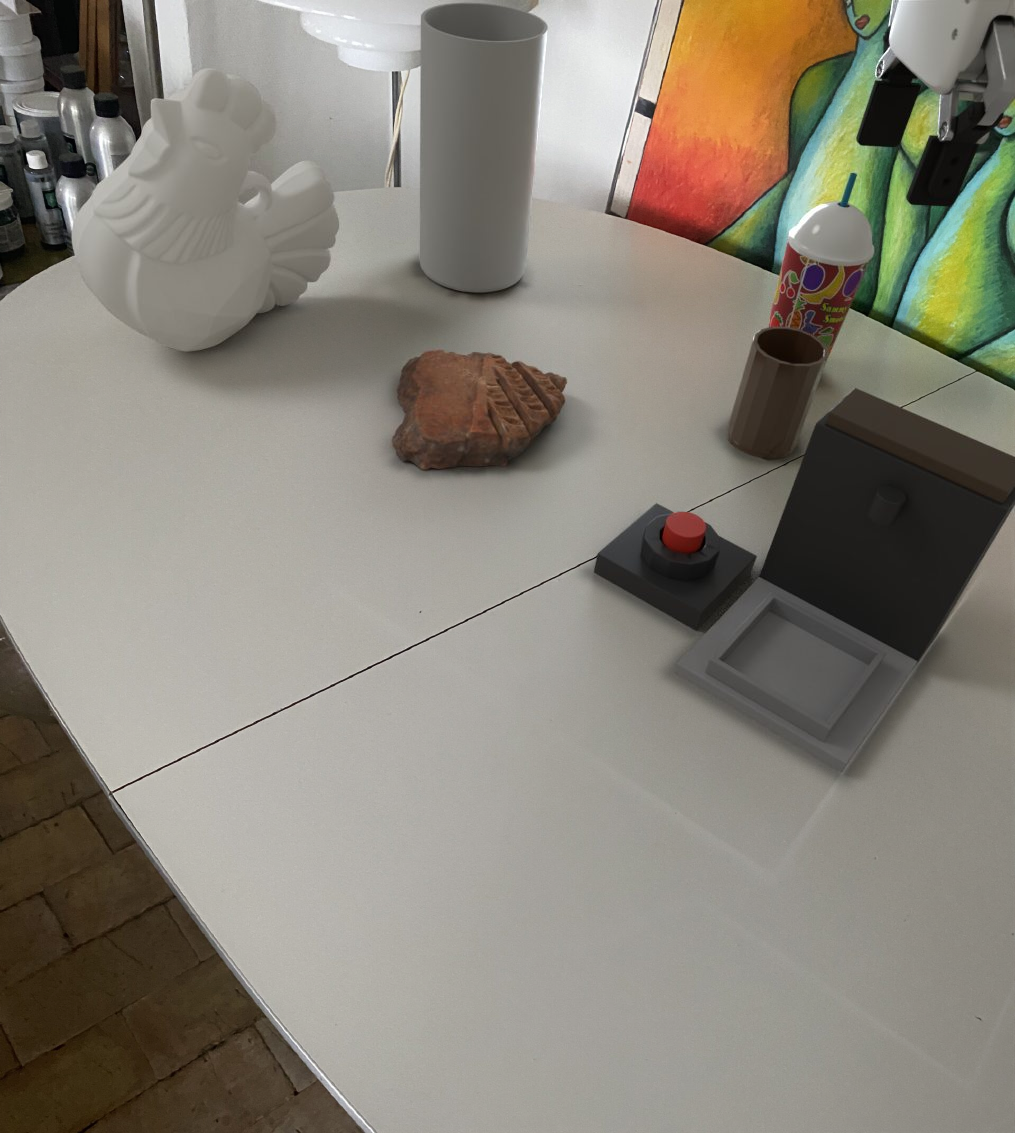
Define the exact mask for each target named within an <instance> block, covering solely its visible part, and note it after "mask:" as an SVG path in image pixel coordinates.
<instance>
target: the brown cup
mask: <svg viewBox="0 0 1015 1133" xmlns="http://www.w3.org/2000/svg"><path fill="white" fill-rule="evenodd" d="M827 358H828V359H829V357H828V348H827V347H826V345H825V344H824V342H823V341H821V340H820V339H819V338H817V337H816V336H814V335H813V334H810V333H808V332H805V331H803V330H800V329H795V328H791V327H774V326H773V327H769V328H767V327H764V328H761V329H760V330H758V331H757V332H755V333H754V334H753V339H752V341H751V344H750V348H749V352H748V355H747V359H746V361H745V366H744V368H743V372H742V375H741V378H740V381H739V386H738V390H737V392H736V397H735V400H734V403H733V407H732V411H731V414H730V417H729V421H728V423H727V428H726V431H725V432H726V438H727V440H728V442H729V443H730V445H732V446H733V447H735V449H738V451H740V452H743V453H744V454H746V455H749V456H752V457H755V458H760V459H763V460H778V459H782V458H785V457H787V456H789V455H790V454H792V453H793V451H794V450H795V448H796V446H797V445H798V441H799V438H800V436H801V433H802V430H803V427H804V424H805V422H806V419H807V416H808V413H809V411H810V408H811V405H812V404H813V403H812V402H813V399H814V397H815V395H816V392H817V388H818V386H819V383H820V380H821V377H822V374H823V372H824V369H825V366H826V364H827V362H828V359H827Z"/></svg>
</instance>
